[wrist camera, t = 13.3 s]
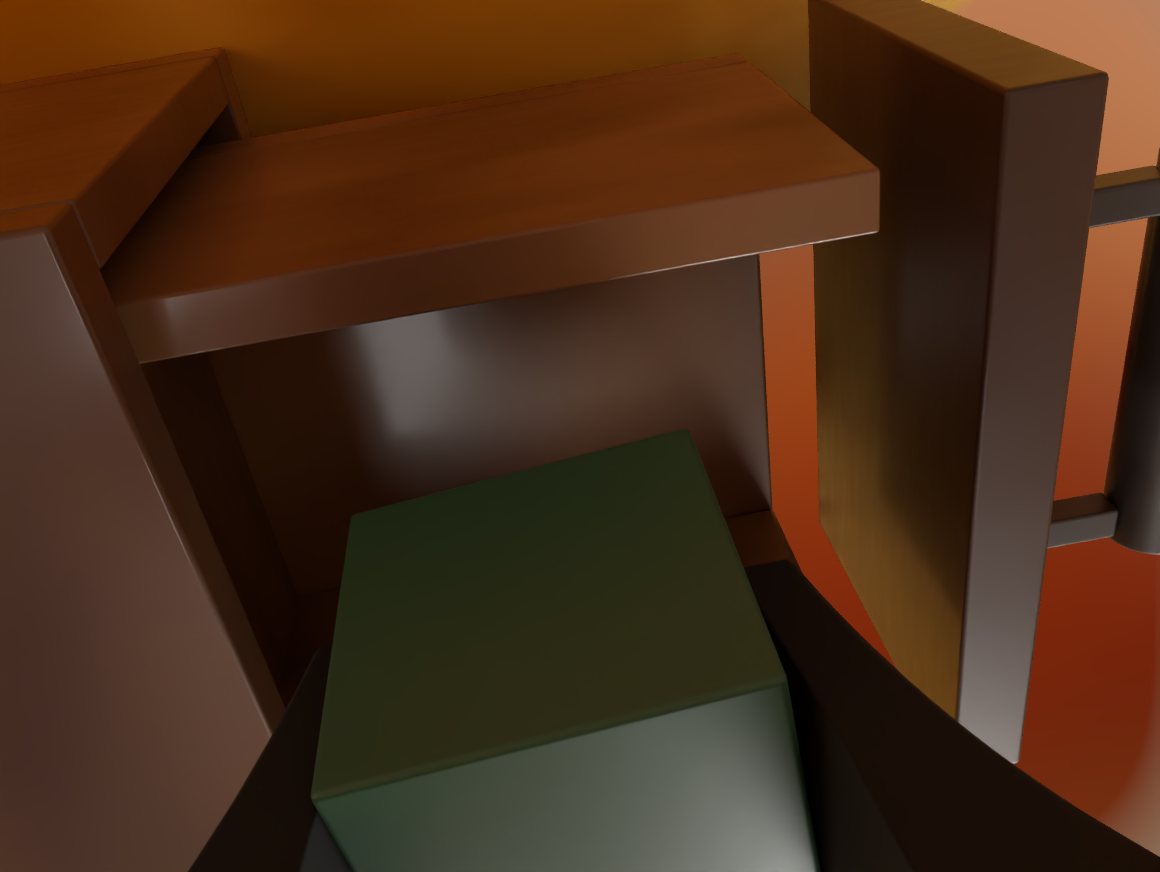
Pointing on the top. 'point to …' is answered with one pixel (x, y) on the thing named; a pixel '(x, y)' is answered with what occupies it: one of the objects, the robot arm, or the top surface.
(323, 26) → the top surface
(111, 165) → the cabinet
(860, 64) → the drawer
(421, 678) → the block
